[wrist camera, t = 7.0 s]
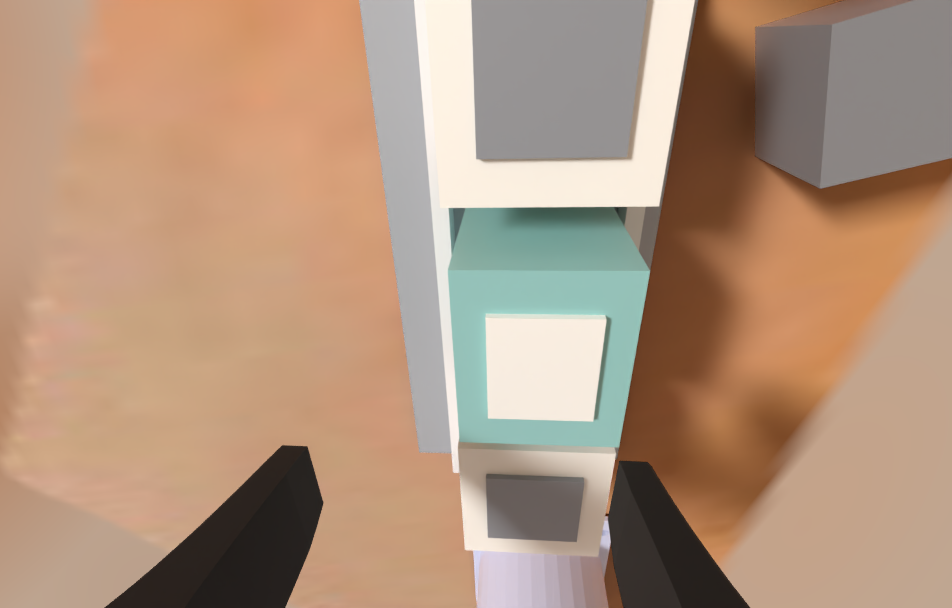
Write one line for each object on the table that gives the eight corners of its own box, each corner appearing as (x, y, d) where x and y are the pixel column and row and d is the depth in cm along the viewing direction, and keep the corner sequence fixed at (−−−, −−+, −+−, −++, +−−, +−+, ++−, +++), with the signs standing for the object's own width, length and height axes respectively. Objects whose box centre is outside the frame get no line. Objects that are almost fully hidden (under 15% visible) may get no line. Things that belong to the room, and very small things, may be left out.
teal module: (585, 316, 19) (620, 453, 13) (476, 314, 19) (458, 447, 13) (599, 183, 16) (652, 275, 10) (472, 184, 16) (446, 274, 10)
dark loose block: (884, 122, 15) (992, 148, 12) (754, 155, 16) (819, 188, 13) (902, -18, 13) (1038, -37, 10) (754, 27, 14) (832, 24, 11)
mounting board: (614, 449, 23) (647, 587, 18) (421, 443, 24) (391, 573, 18) (712, -125, 12) (889, -268, 7) (351, -102, 13) (221, -212, 7)
